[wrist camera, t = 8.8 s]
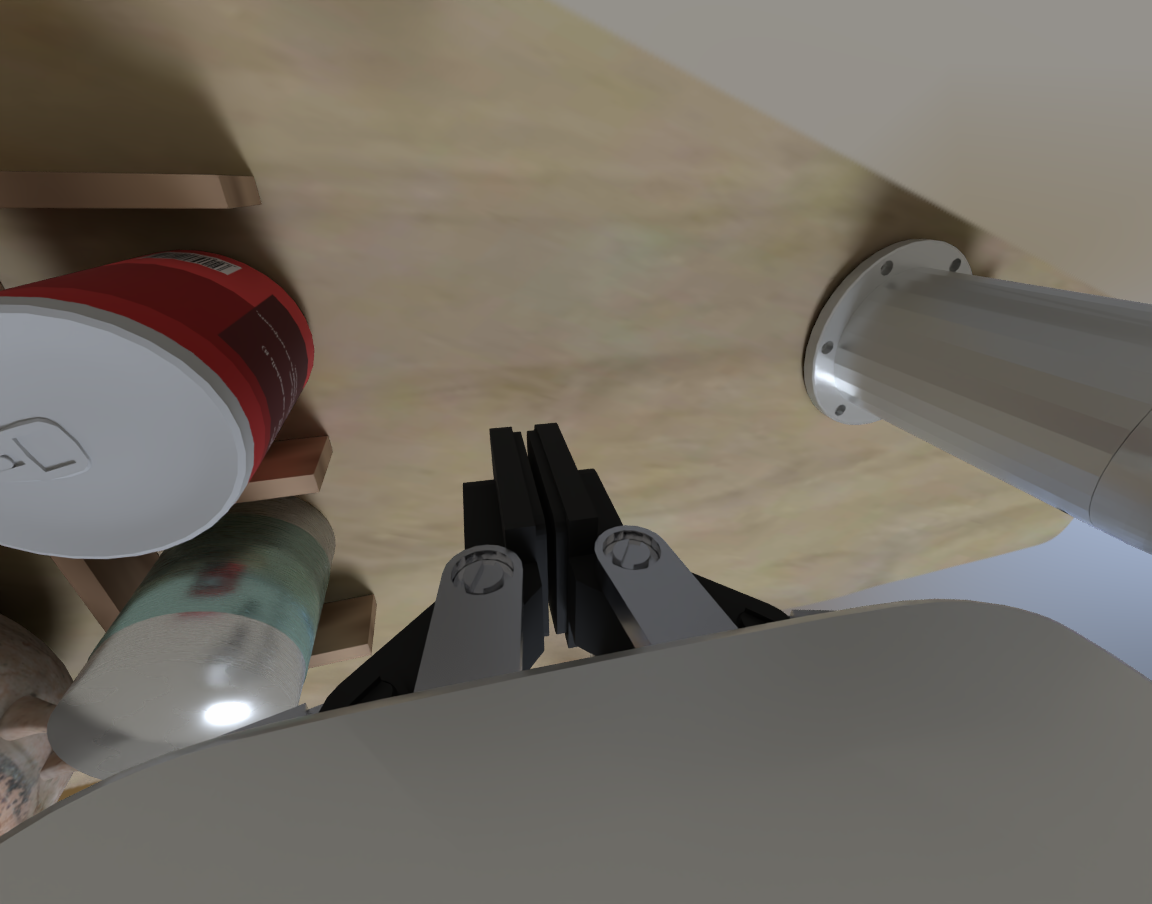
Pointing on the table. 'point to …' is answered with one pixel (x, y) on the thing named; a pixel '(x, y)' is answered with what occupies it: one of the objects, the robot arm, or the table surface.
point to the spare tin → (203, 640)
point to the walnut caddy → (286, 461)
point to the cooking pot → (28, 725)
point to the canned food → (140, 400)
